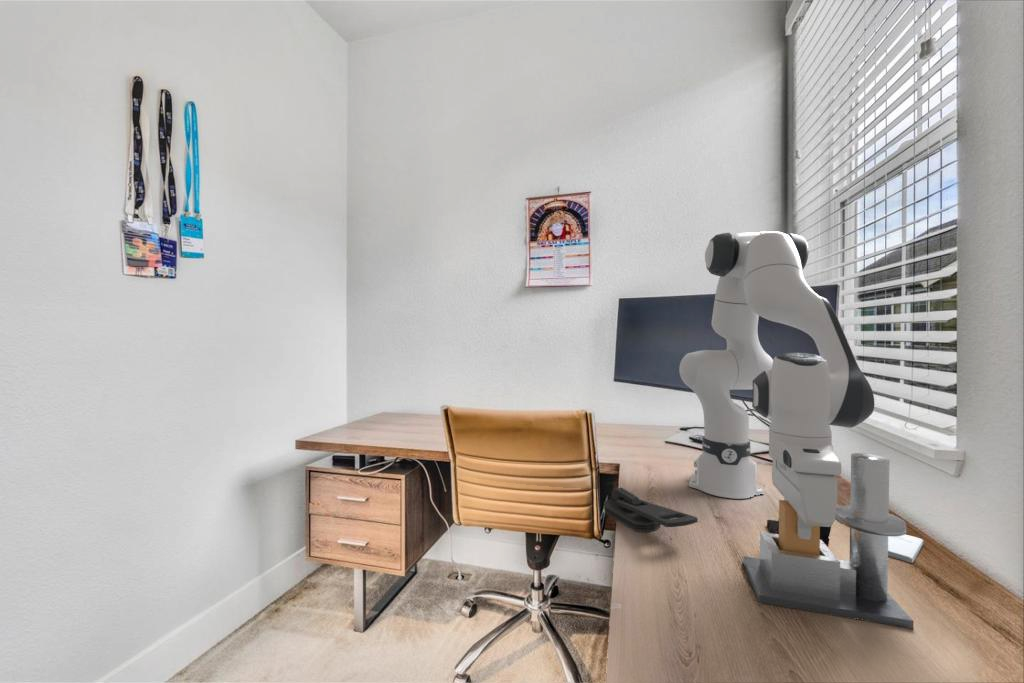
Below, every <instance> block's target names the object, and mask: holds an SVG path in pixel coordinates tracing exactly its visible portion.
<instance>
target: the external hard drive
mask: <svg viewBox="0 0 1024 683" xmlns="http://www.w3.org/2000/svg"><path fill="white" fill-rule="evenodd" d="M923 546H924V539H922V538H919V537H917V536H913V535H908V534H907V533H906V534H905V535H902V536H888V558H889V557H890V558H893V559H897V560H899V561H904V562H907V563H910V564H913V563H914V561H915V560H916V558H917V556H918V554H919V552H920V550H921V549H922V547H923Z"/></svg>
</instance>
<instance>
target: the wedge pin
mask: <svg viewBox="0 0 1024 683" xmlns="http://www.w3.org/2000/svg"><path fill="white" fill-rule="evenodd" d="M778 520H779V547H780V548H781V550H784V551H791V552H798V553H806V554H813V555H820V526H815V525H813V527H812V529H811V539H809V540H807V539H801V538H799V537H798V535H797V534H796V524H797V523H798V517H797V512H796V511H795V510H794V509H793V507H792V506H791V505H790V504H789V503H788V502H787V501H785V500H784V499H778Z"/></svg>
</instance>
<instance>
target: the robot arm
mask: <svg viewBox="0 0 1024 683" xmlns="http://www.w3.org/2000/svg"><path fill="white" fill-rule="evenodd" d="M809 250H810V249H809V244H808V242H807V240H806V239H805V237H804V236H802V235H800V234H799V235H798V234H794V233H790V232H789V233H788V232H787V233H784V232H782V231H757V232H755V231H751V232H735V233H730V232H722V233H718V234H715V235H714V236H713V237H712V238H711V239H710V240H709V242H708V244H707V246H706V249H705V252H704V261H705V266H706V270H707V271H708V272H709V273H710V274H711V275H714V276H716V277H717V276H718V281H717V282H718V283H717V286H716V289H715V295H714V302H713V309H712V317H711V328H712V329H713V331H714V332H715V333H716V334H717V335H718V336H719V337H722V338H724V339H725V340H726V349H722V350H721V349H720V350H719V349H714V350H713V349H712V350H711V349H703V350H696V351H692V352H688V353H686V354H685V355H684V356H683V357H682V359H681V360H680V363H679V368H678V369H679V370H678V372H679V376H680V379H681V381H682V382H683V384H684V385H686V386H687V387H688V388H690V390H692V391H693V393H694V394H695V395H696V396H697V398H698V399H699V402H700V404H701V407H702V411H703V426H704V431H703V433H704V435H703V437H702V441H701V446H702V449H701V450H702V452H701V454H700V455H699V456H698V457H697V459H695V458H694V459H693V467H694V468H696V469H694V472H693V473H692V476H691V478H690V480H689V482H688V487H690V488H693V489H697V490H699V491H702V492H704V493H706V494H708V495H712V496H716V497H720V498H726V499H727V498H728V499H736V500H737V499H738V500H740V499H741V500H742V499H750V497H751V498H753V497H755V496H754V495H756V496H761V495H760V494H763V495H764V494H765V492H764V489H763V488H761V487H760V486H759V485H758V479H757V478H758V474H757V472H758V471H757V463H756V462H755V460H753V459H752V458H751V457H750V455H751V450H752V448H751V447H752V446H751V441H750V440H749V435H750V434H749V432H750V428H749V427H750V425H749V422H750V421H749V420H750V417H749V414H748V412H747V410H745V408H744V407H742V406H741V405H739V404H738V403H736V402H734V401H733V399H732V396H731V393H730V392H731V391H733V390H734V391H735V390H744V391H745V390H747V391H748V390H752V402H751V403H752V404H751V406H752V408H753V409H754V410H755V411H756V413H758V414H759V415H760V416H762V417H763V418H766V419H769V420H771V421H770V424H769V428H768V456H769V457H770V458H771V459H772V466H771V482H772V485H773V486H774V487H775V489H776V490H777V491H778V492H779V493H780V495H781V496H782V497H783V500H785V501H787V502H788V503H789V504H790V505H791V506H792V507H793V509H794V510H795V511H796V512H797V517H798V523H797V524H796V534H797V535H798V537H799V538H801V539H807V540H809V539H811V529H812V527H813V525H815V526H824V527H831V528H832V526H833V524H834V523H835V521H836V519H835V517H836V507H838V506H837V504H838V480H837V476H841V474H842V462H841V460H840V459H839V458H838V456H837V454H836V452H835V451H834V446H833V444H832V443H833V442H832V440H833V439H832V437H833V433H832V429H831V427H830V426H834V427H835V426H836V427H842V428H848V429H849V428H850V429H851V428H854V427H856V426H858V425H861V424H862V423H863V422H865V421H866V420H867V419H869V417H870V416H871V415H872V414H873V412H874V410H875V397H874V392H873V391H874V390H872V387H871V384H870V382H869V381H868V379H867V377H866V376H865V375H864V373H863V371H862V370H861V368H860V366H859V364H858V362H857V360H856V358H855V355H854V353H853V351H852V350H853V349H851V346H850V344H849V341H848V339H847V337H846V333H845V332H844V329H843V328H842V326H841V323H840V320H839V317H838V316H837V314H836V312H835V310H834V308H833V306H832V305H831V303H830V301H829V300H828V299H827V298H825V297H824V296H821V295H819V294H818V293H816V292H815V291H814V290H813V289H812V288H811V286H810V285H809V284H808V283H807V281H806V279H805V276H804V272H803V270H804V269H805V267H806V265H807V262H808V259H809V253H810V252H809ZM760 317H761V318H763V319H765V320H768V321H770V322H774V323H779V324H783V325H786V326H789V327H792V328H795V329H798V330H800V331H802V332H804V333H806V334H808V336H810V337H811V338H812V339H813V341H814V342H815V346H816V348H817V351H818V353H819V355H818V354H814V353H807V352H785V353H780V354H777V355H776V356H774V358H772V357H771V356H770V355H769V354H768V353H767V352H766V351H765V350H764V348H763V346H762V344H761V343H760V340H759V332H758V330H759V329H758V327H759V318H760Z"/></svg>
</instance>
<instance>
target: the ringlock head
mask: <svg viewBox="0 0 1024 683" xmlns="http://www.w3.org/2000/svg"><path fill="white" fill-rule="evenodd" d="M849 498H850V499H849V500H850V501H849V502H850V503H849V505H838V506H837V507H836V517H835V521H836V522H838V523H840V524H841V525H843V526H845V527H847V528H849V560H842V559H838V558H837V557H836V555H835V554H834V553H833V552H832V551H831V549H830V548H829V546H828V547H827V546H826V545H825V543H824V542H823V541H822V540H820V555H813V554H806V553H798V552H791V551H784V550H781V548H780V547H779V534H772V533H771V532H763V531H760V532H759V535H760V536H759V537H760V538H759V558H758V557H751V556H743V557H742V558H743V560H742V563H743V565H744V566H743V567H744V568H745V570H746V571H745V572H746V573H747V576H748V577H749V581H750V583H751V586H752V589H753V590H754V593H755V596H756V598H757V600H758V603H759V602H760V604H767V605H770V606H771V605H773V606H778V607H782V608H788V609H795V610H799V611H800V610H802V611H806V612H813V613H817V612H818V613H819V614H823V613H826V614H825V615H829V614H832V615H831V616H835V615H837V616H836V617H840V616H843V617H842V618H846V617H850V618H849V619H852V618H856V619H855V620H858V619H863V620H862V621H864V620H869V621H873V622H872V623H875V622H878V623H877V624H881V623H883V624H882V625H887V624H888V625H889V626H893V627H898V626H900V627H899V628H904V627H905V629H910V628H912V629H911V630H913V629H914V623H915V622H914V620H913V619H912V617H911V616H910V615H909V614H908V613H907V612H906V610H904V609H903V608H902V607H901V605H900V604H898V602H897V601H896V600H895V599H894V598H893V596H891V595H890V593H888V587H889V586H888V583H889V581H888V577H889V576H888V574H889V556H888V536H902V535H905V534H906V535H907V522H906V521H905V520H904V519H902V518H901V517H899V516H897V515H895V514H892V513H889V512H890V510H889V509H890V508H889V507H890V459H889V458H888V457H884V456H880V455H876V454H870V453H863V452H861V453H859V452H857V453H856V452H854V453H851V454H850V497H849ZM857 618H858V619H857ZM869 621H868V622H869ZM906 627H907V628H906Z"/></svg>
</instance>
